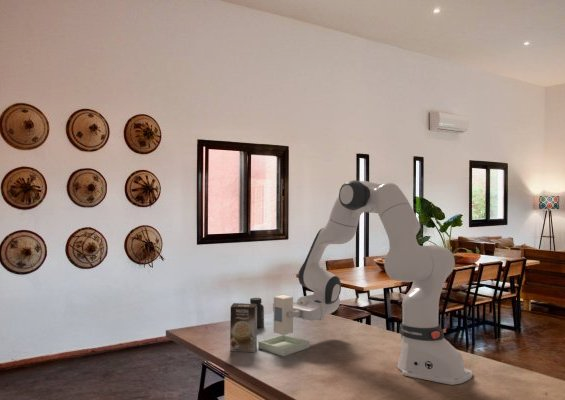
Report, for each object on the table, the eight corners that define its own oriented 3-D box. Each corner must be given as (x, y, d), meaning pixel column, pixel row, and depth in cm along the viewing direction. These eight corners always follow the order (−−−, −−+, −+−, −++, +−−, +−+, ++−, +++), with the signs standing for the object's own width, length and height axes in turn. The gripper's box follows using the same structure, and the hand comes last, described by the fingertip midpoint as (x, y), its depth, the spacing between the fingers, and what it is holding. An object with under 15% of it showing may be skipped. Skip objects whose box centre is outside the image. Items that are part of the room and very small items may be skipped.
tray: (308, 348, 177) (308, 341, 177) (283, 356, 168) (283, 348, 168) (283, 341, 186) (283, 334, 186) (258, 348, 177) (258, 341, 177)
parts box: (292, 332, 177) (293, 296, 177) (283, 335, 174) (283, 298, 174) (283, 329, 181) (283, 294, 181) (273, 332, 177) (273, 296, 177)
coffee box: (229, 351, 173) (229, 306, 173) (232, 346, 179) (232, 302, 180) (254, 352, 172) (254, 307, 172) (257, 347, 179) (257, 303, 179)
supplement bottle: (257, 323, 213) (257, 296, 213) (267, 326, 208) (267, 298, 208) (244, 326, 209) (244, 298, 209) (254, 329, 204) (254, 300, 204)
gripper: (287, 295, 194) (262, 300, 184) (327, 303, 179) (302, 309, 169) (287, 311, 194) (262, 317, 184) (327, 320, 179) (301, 327, 169)
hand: (281, 313), depth 177 cm, fingers closed on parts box, 5 cm apart
